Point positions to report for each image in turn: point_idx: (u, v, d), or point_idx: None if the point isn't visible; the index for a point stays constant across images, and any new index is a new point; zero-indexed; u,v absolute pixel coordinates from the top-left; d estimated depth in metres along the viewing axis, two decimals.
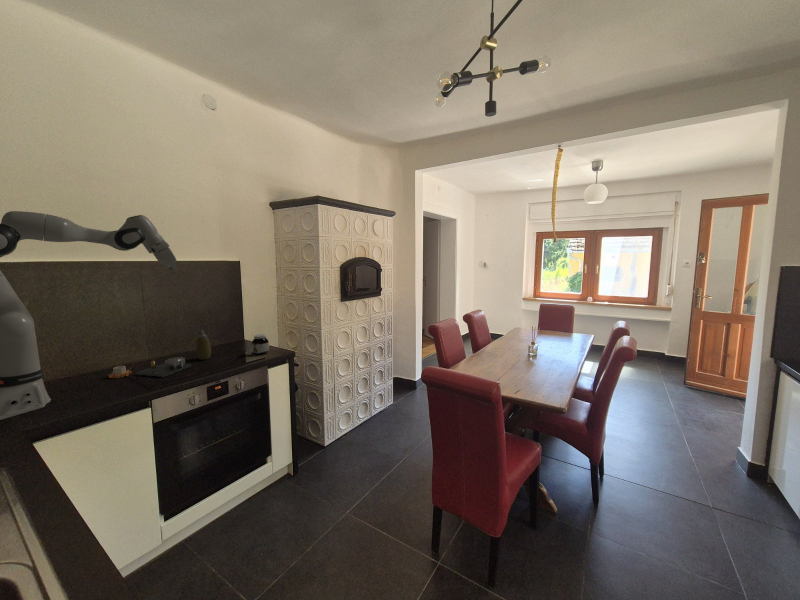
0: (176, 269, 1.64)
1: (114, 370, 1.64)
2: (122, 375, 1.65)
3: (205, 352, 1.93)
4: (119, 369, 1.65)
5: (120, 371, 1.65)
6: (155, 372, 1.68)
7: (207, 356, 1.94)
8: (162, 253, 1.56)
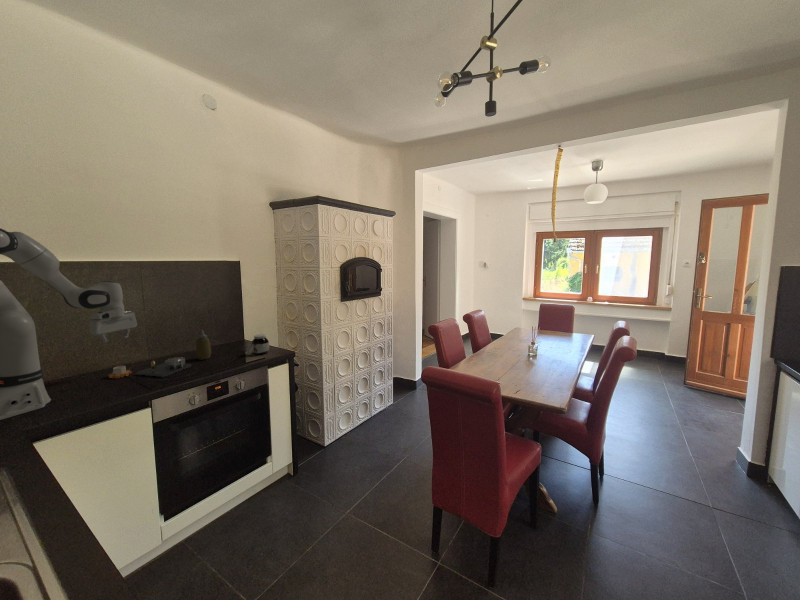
0: (104, 340, 1.59)
1: (114, 370, 1.64)
2: (122, 375, 1.65)
3: (205, 352, 1.93)
4: (119, 369, 1.65)
5: (120, 371, 1.65)
6: (155, 372, 1.68)
7: (207, 356, 1.94)
8: (90, 322, 1.55)
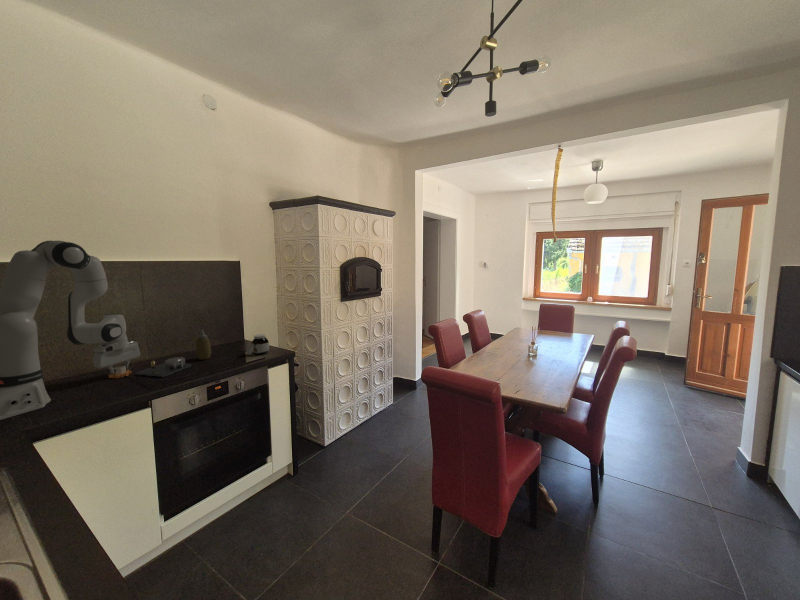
0: (111, 371, 1.63)
1: None
2: (122, 375, 1.65)
3: (205, 352, 1.93)
4: (119, 369, 1.65)
5: (120, 371, 1.65)
6: (155, 372, 1.68)
7: (207, 356, 1.94)
8: (94, 355, 1.57)
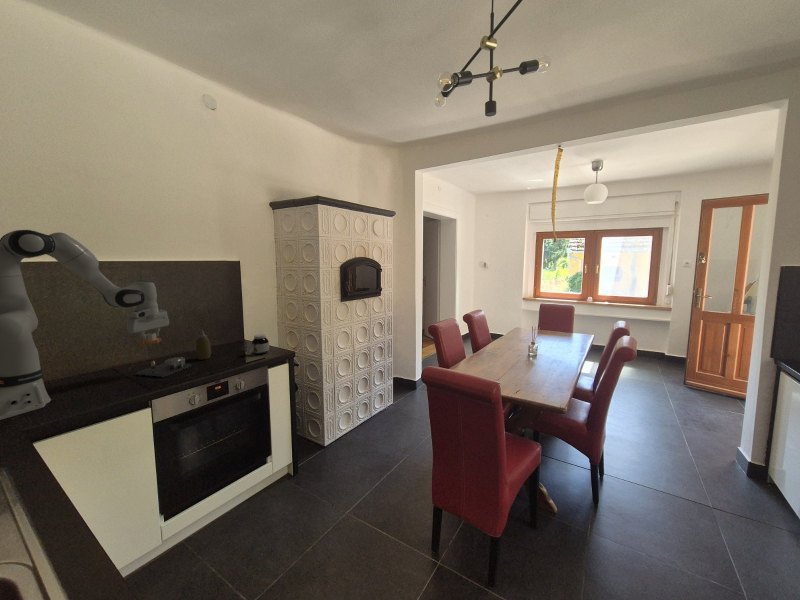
0: (143, 337, 1.65)
1: None
2: (153, 341, 1.67)
3: (205, 352, 1.93)
4: (150, 336, 1.67)
5: (151, 338, 1.68)
6: (155, 372, 1.68)
7: (207, 356, 1.94)
8: (127, 320, 1.59)
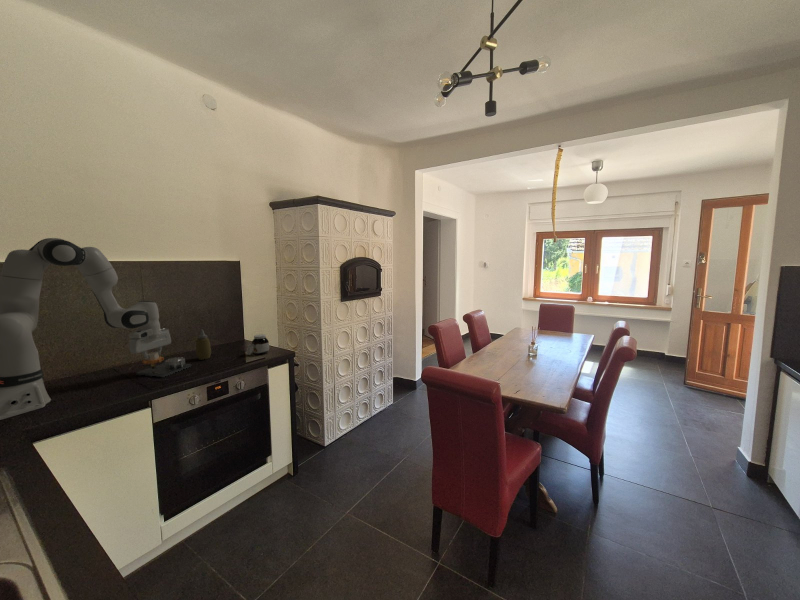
0: (145, 357, 1.67)
1: None
2: (156, 361, 1.68)
3: (205, 352, 1.93)
4: (153, 355, 1.68)
5: (154, 357, 1.69)
6: (155, 372, 1.68)
7: (207, 356, 1.94)
8: (130, 341, 1.60)
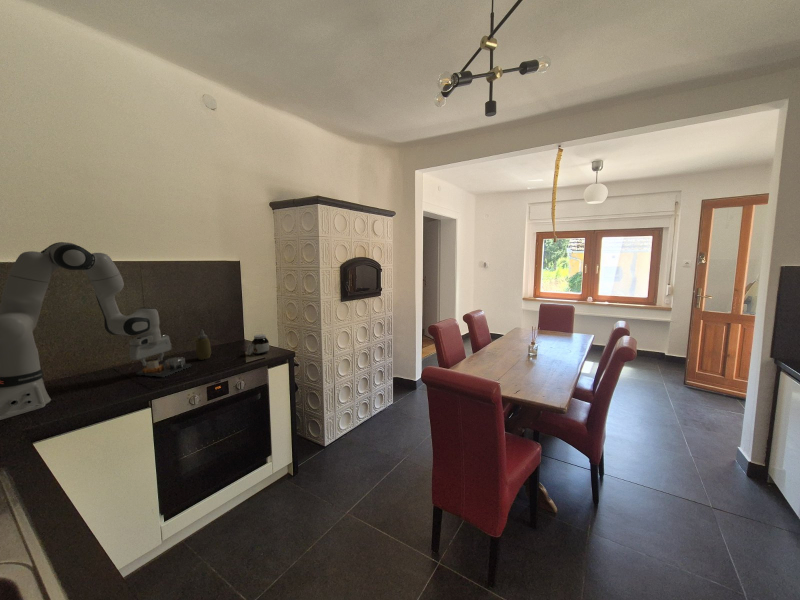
0: (144, 364, 1.66)
1: (148, 364, 1.68)
2: (156, 369, 1.69)
3: (205, 352, 1.93)
4: (153, 363, 1.69)
5: (154, 365, 1.69)
6: (155, 372, 1.68)
7: (207, 356, 1.94)
8: (130, 348, 1.61)
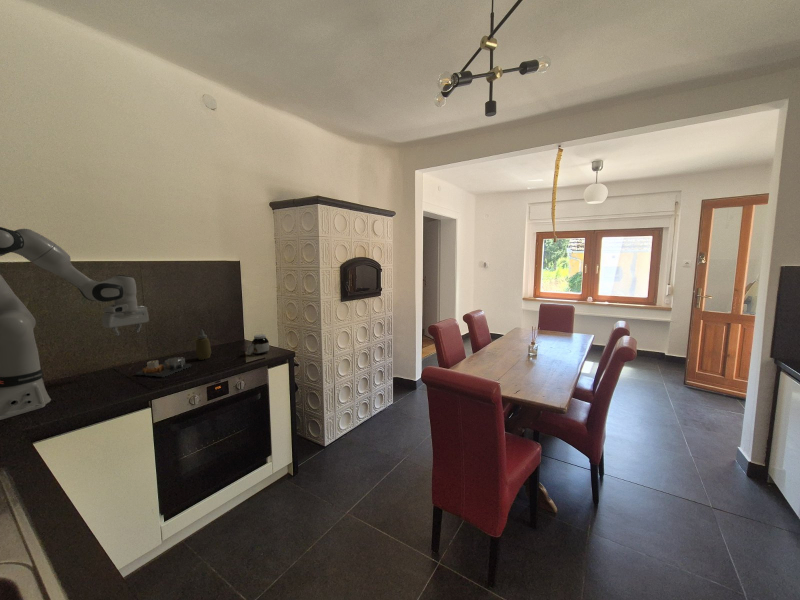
0: (116, 334, 1.60)
1: (148, 364, 1.68)
2: (156, 369, 1.69)
3: (205, 352, 1.93)
4: (153, 363, 1.69)
5: (154, 365, 1.69)
6: (155, 372, 1.68)
7: (207, 356, 1.94)
8: (103, 315, 1.56)
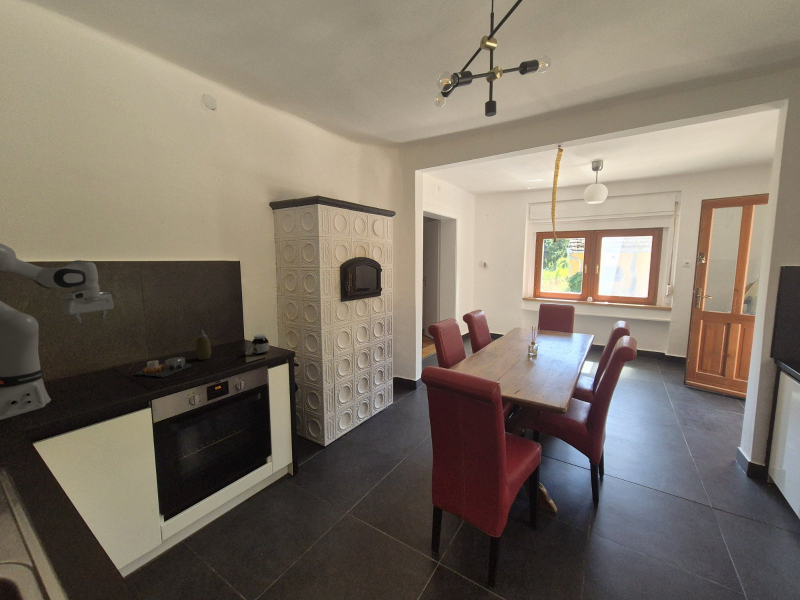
0: (78, 321, 1.56)
1: (148, 364, 1.68)
2: (156, 369, 1.69)
3: (205, 352, 1.93)
4: (153, 363, 1.69)
5: (154, 365, 1.69)
6: (155, 372, 1.68)
7: (207, 356, 1.94)
8: (63, 302, 1.52)
